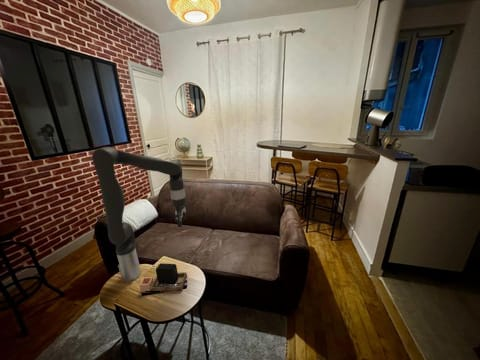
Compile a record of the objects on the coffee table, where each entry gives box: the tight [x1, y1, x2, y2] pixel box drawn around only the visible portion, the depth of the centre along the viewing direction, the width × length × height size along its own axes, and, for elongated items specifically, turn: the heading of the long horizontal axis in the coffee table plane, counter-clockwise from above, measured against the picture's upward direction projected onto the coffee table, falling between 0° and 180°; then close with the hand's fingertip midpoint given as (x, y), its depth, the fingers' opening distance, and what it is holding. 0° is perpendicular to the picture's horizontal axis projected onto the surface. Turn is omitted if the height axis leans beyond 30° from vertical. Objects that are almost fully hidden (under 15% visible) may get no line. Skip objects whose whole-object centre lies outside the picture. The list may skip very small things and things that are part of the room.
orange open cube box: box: [139, 276, 155, 293], centre depth 103 cm, size 5×5×5 cm
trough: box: [150, 271, 188, 293], centre depth 106 cm, size 16×10×3 cm, turn 90°
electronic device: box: [155, 262, 179, 284], centre depth 106 cm, size 4×10×10 cm, turn 84°
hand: (182, 222), depth 110 cm, fingers open, 8 cm apart
